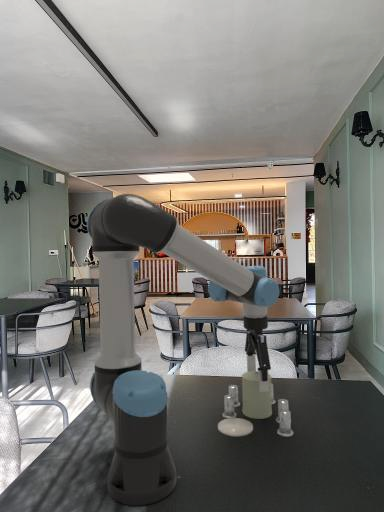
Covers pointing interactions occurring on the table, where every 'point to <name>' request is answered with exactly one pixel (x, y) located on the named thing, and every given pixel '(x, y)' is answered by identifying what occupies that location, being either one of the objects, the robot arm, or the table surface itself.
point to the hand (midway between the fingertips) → (257, 382)
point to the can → (255, 397)
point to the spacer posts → (283, 411)
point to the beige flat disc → (235, 427)
